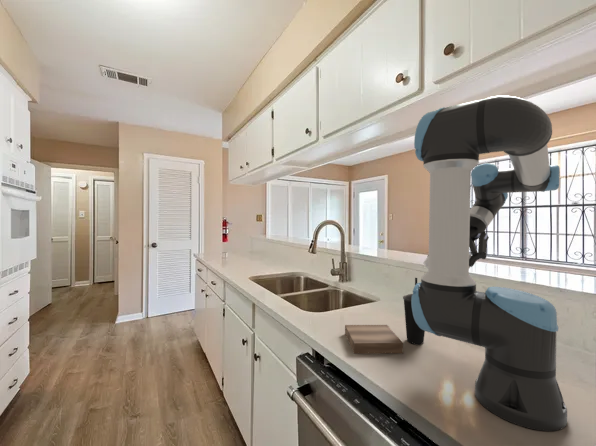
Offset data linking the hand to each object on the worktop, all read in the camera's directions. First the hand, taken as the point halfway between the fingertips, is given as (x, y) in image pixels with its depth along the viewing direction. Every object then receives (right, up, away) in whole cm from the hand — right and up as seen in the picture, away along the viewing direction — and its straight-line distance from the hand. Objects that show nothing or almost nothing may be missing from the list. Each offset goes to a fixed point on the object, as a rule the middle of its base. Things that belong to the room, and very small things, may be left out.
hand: (442, 269), depth 95 cm
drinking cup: (-10, -22, -4) cm, 25 cm away
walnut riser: (-24, -22, -5) cm, 33 cm away
